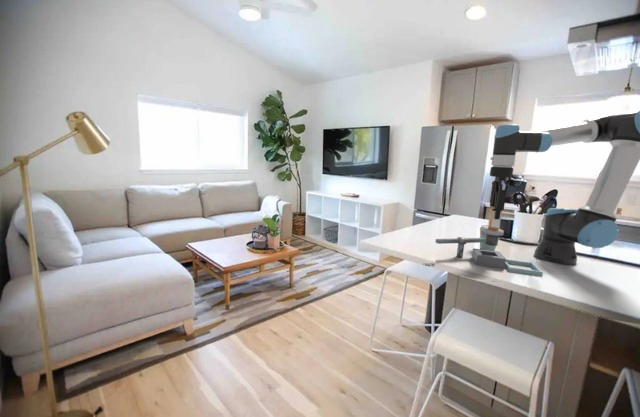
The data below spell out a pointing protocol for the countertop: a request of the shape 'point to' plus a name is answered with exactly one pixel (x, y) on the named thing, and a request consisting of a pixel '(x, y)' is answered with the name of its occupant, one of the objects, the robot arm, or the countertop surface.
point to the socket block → (488, 258)
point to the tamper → (492, 232)
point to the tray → (533, 272)
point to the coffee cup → (482, 244)
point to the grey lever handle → (460, 243)
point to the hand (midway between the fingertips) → (493, 225)
